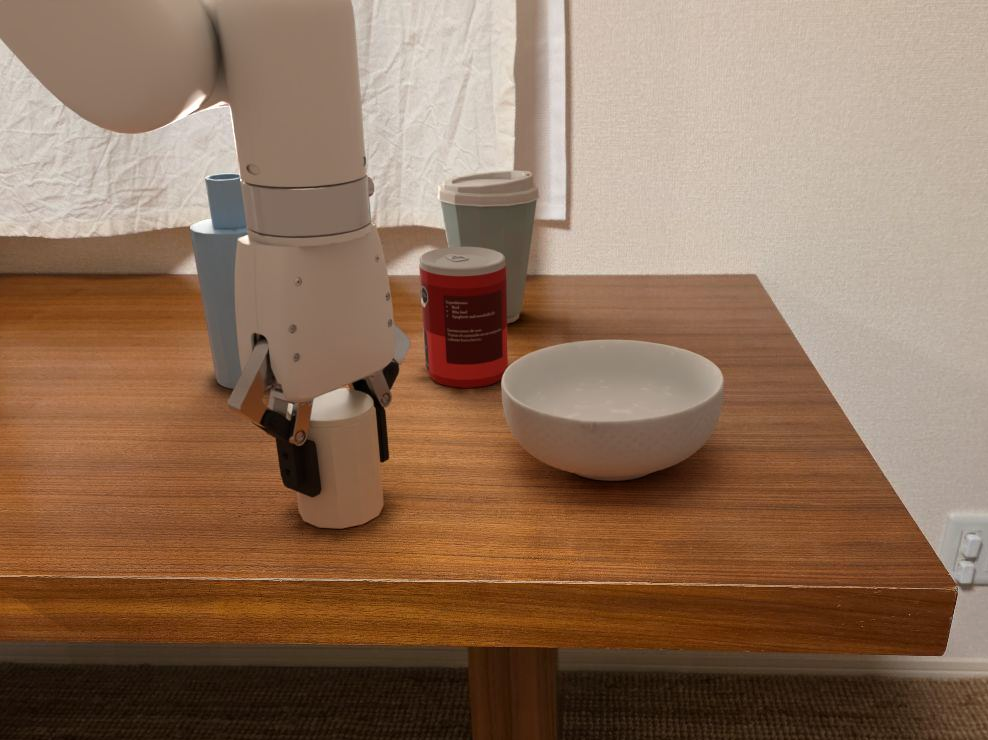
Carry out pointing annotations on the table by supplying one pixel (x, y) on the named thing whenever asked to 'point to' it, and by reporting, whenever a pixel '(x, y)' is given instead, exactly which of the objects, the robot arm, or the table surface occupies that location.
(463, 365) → the canned food
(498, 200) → the disposable coffee cup
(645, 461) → the cereal bowl
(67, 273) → the table surface
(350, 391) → the paper cup
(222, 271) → the water bottle
